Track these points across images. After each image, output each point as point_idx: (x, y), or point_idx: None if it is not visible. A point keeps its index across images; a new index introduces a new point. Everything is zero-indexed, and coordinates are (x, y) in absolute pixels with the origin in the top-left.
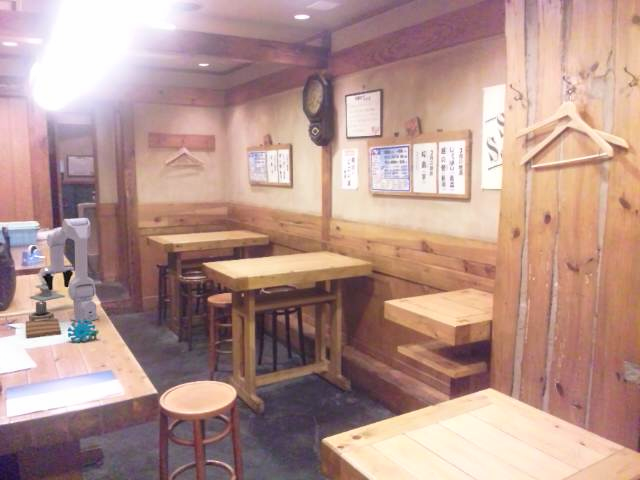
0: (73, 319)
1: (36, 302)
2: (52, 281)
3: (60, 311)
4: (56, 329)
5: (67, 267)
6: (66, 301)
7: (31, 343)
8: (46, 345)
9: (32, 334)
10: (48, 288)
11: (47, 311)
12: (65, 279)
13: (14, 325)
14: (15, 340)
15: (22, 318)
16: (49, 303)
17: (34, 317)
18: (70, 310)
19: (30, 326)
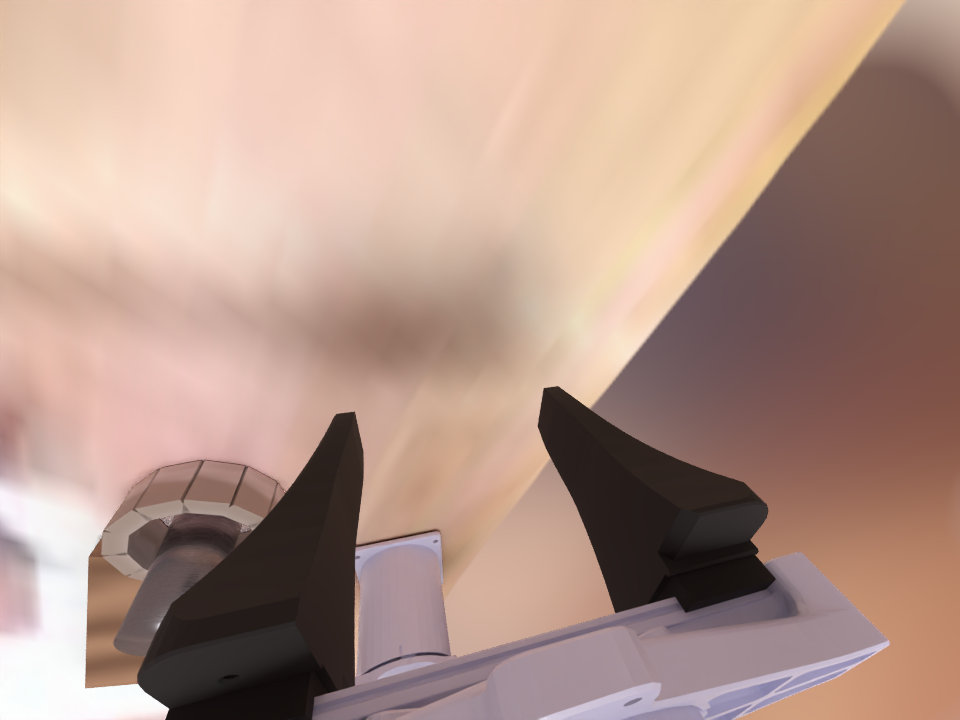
0: (355, 570)
1: (120, 635)
2: (353, 578)
3: (387, 397)
4: None
5: (779, 691)
6: (591, 132)
7: (114, 699)
8: (167, 712)
9: (117, 681)
10: (330, 424)
11: (250, 521)
12: (588, 473)
13: (17, 516)
14: (40, 675)
15: (82, 403)
16: (454, 50)
17: (142, 576)
18: (442, 412)
19: (114, 623)
